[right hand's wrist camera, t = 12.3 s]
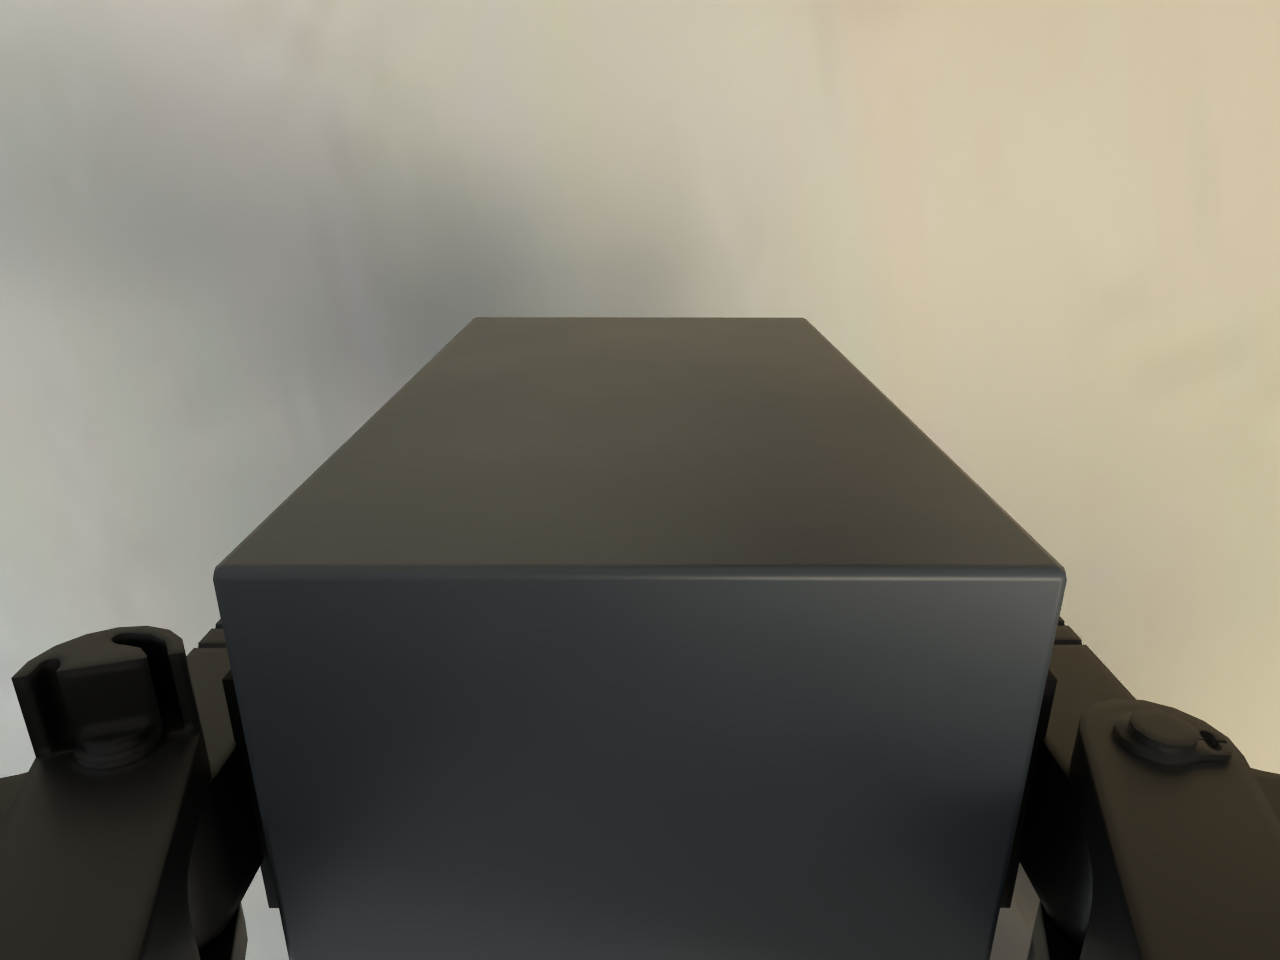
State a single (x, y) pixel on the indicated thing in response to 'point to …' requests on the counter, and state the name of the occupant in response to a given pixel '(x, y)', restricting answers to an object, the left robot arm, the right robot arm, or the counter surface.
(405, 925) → the cap block
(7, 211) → the counter surface
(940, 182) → the counter surface
